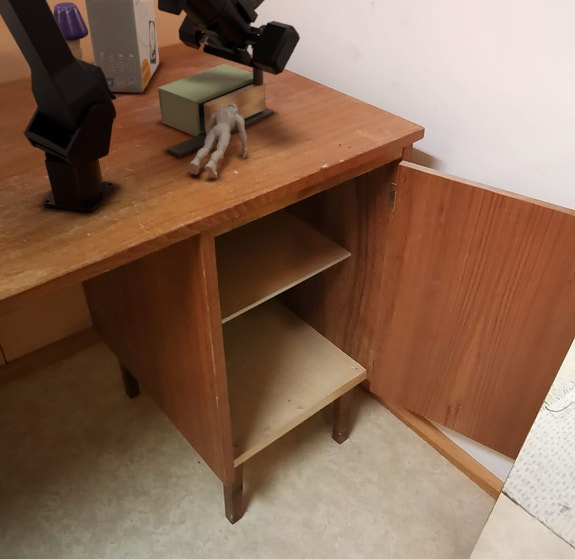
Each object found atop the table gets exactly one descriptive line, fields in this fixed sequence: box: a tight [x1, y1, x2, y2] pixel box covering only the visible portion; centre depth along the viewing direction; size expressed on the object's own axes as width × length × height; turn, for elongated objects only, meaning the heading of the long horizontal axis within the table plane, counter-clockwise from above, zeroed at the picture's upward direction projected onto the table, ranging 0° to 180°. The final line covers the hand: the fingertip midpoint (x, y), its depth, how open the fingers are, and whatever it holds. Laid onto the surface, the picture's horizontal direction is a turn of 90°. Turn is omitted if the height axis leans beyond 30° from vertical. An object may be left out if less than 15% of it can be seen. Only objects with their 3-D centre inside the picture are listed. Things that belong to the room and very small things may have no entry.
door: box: [204, 49, 266, 131], centre depth 89 cm, size 12×2×10 cm, turn 141°
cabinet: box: [157, 63, 275, 158], centre depth 91 cm, size 20×10×6 cm, turn 141°
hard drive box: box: [84, 0, 160, 94], centre depth 101 cm, size 16×8×20 cm, turn 179°
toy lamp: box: [53, 2, 89, 61], centre depth 87 cm, size 5×5×17 cm
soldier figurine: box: [188, 103, 248, 179], centre depth 82 cm, size 6×5×12 cm
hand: (264, 67), depth 92 cm, fingers open, 5 cm apart
